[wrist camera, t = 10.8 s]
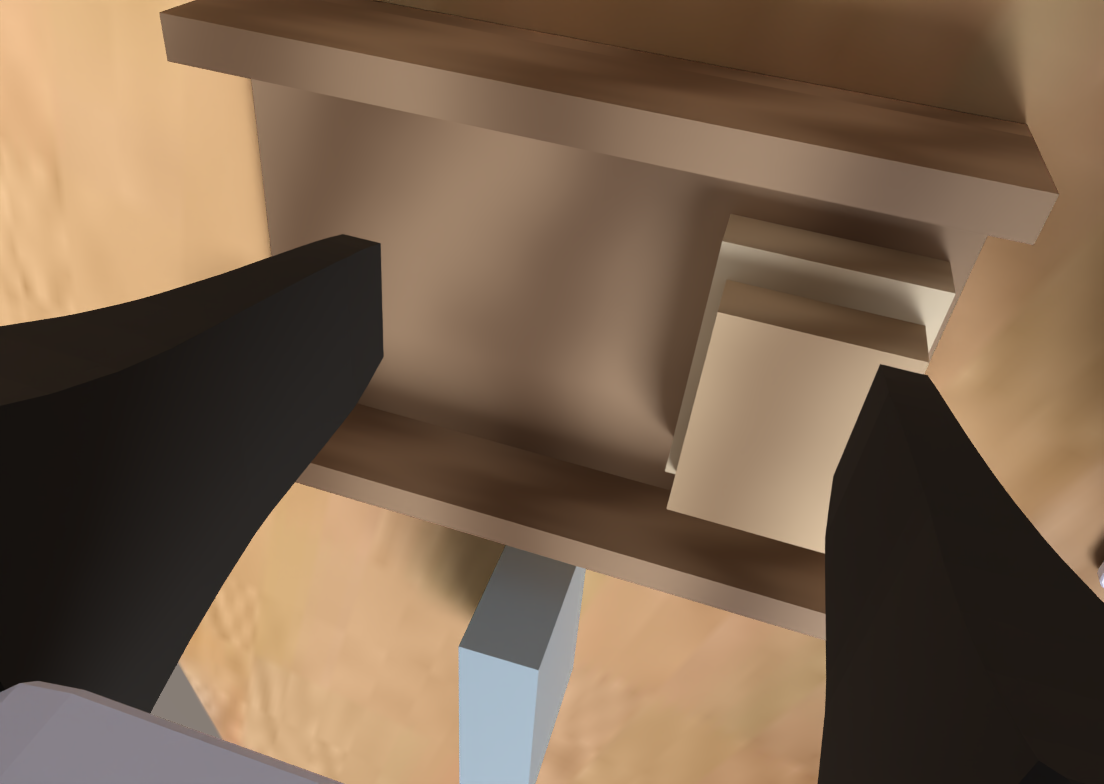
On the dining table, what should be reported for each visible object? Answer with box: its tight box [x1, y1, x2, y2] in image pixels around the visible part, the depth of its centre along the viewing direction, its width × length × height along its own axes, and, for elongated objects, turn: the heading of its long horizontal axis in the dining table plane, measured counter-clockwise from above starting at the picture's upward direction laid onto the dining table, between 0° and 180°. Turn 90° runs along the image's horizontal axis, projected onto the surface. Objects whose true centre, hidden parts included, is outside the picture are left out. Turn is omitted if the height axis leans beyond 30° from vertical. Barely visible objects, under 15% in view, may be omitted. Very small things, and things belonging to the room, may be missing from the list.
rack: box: [160, 0, 1059, 640], centre depth 22 cm, size 18×13×4 cm
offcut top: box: [667, 280, 929, 554], centre depth 20 cm, size 4×6×2 cm
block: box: [459, 545, 586, 784], centre depth 29 cm, size 2×8×6 cm, turn 176°
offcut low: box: [665, 214, 956, 474], centre depth 21 cm, size 5×7×2 cm
